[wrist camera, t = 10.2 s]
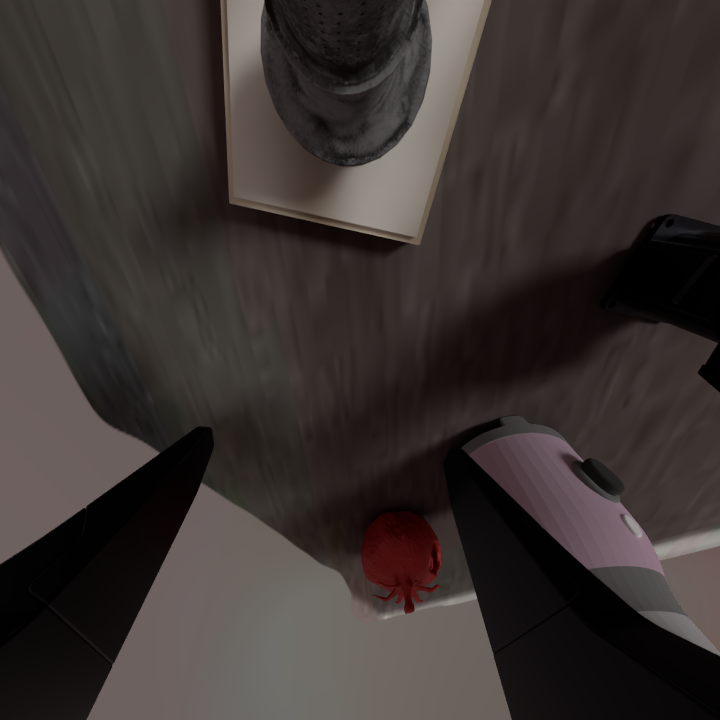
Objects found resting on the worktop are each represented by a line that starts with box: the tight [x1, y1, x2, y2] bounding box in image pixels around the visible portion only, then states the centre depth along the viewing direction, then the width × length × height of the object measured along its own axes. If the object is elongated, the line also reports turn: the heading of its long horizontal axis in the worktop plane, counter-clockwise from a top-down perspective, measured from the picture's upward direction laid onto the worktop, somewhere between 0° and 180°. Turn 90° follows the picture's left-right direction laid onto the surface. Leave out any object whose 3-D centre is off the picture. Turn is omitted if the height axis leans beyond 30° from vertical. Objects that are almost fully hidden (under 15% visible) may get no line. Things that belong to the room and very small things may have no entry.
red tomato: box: [361, 511, 442, 614], centre depth 32 cm, size 10×10×9 cm
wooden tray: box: [221, 0, 492, 245], centre depth 13 cm, size 11×11×2 cm
